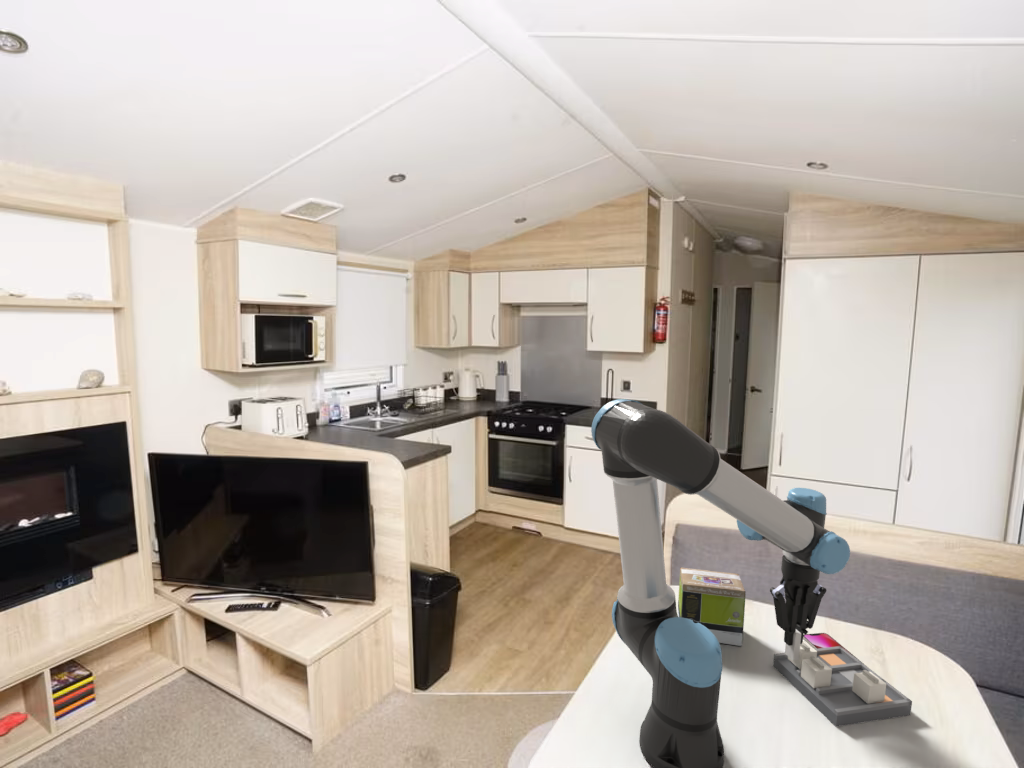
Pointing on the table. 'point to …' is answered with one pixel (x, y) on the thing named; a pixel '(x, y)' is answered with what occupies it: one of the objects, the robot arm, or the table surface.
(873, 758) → the table surface
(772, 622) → the table surface
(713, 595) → the tea box
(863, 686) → the tab
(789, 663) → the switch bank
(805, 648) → the tab
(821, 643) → the smartphone
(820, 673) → the tab
